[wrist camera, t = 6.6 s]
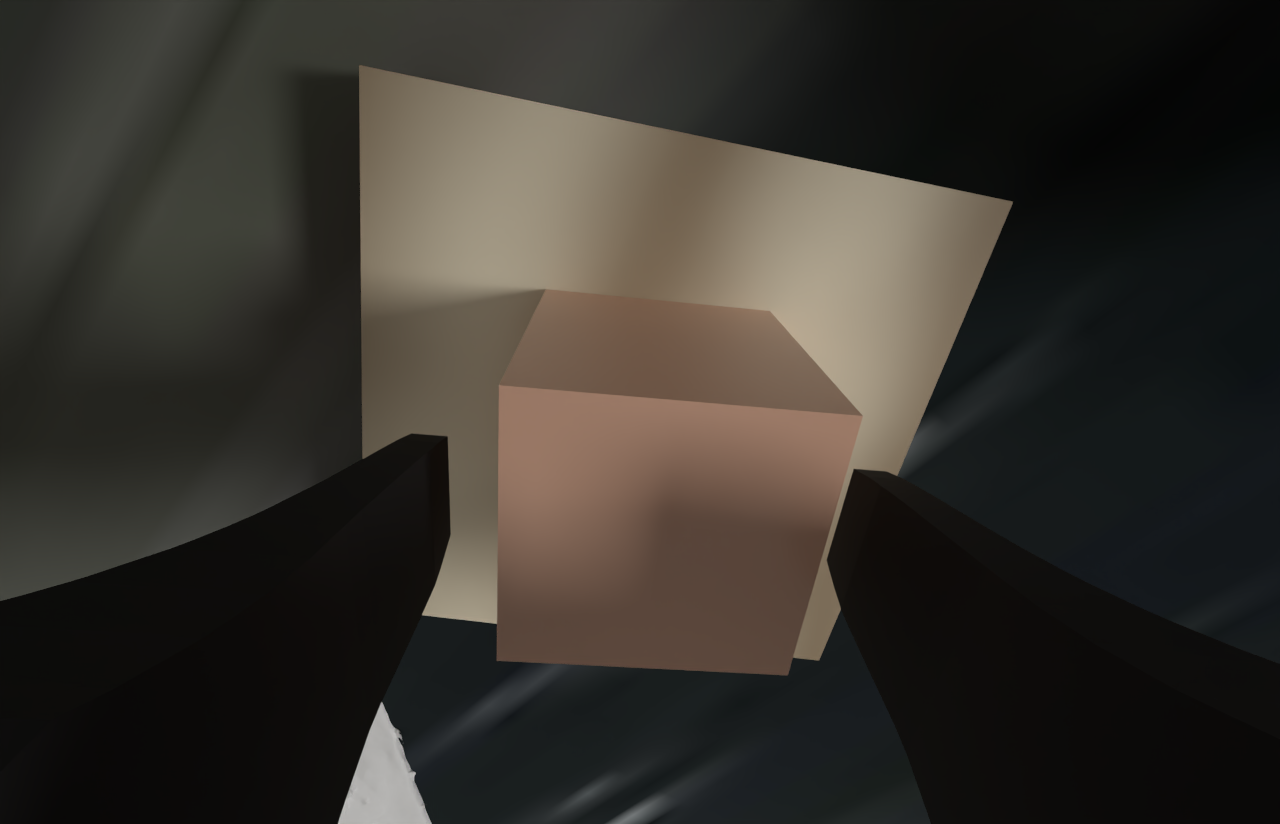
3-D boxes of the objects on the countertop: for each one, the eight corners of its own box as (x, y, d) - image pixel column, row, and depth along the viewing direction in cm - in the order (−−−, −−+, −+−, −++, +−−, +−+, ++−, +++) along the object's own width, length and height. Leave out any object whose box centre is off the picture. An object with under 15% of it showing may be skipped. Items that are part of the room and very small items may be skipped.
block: (769, 310, 12) (862, 415, 7) (731, 498, 14) (787, 675, 9) (545, 289, 12) (498, 385, 7) (538, 484, 13) (496, 660, 9)
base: (953, 192, 13) (1013, 201, 11) (796, 602, 18) (818, 660, 16) (402, 77, 12) (359, 64, 10) (394, 552, 17) (363, 608, 15)
